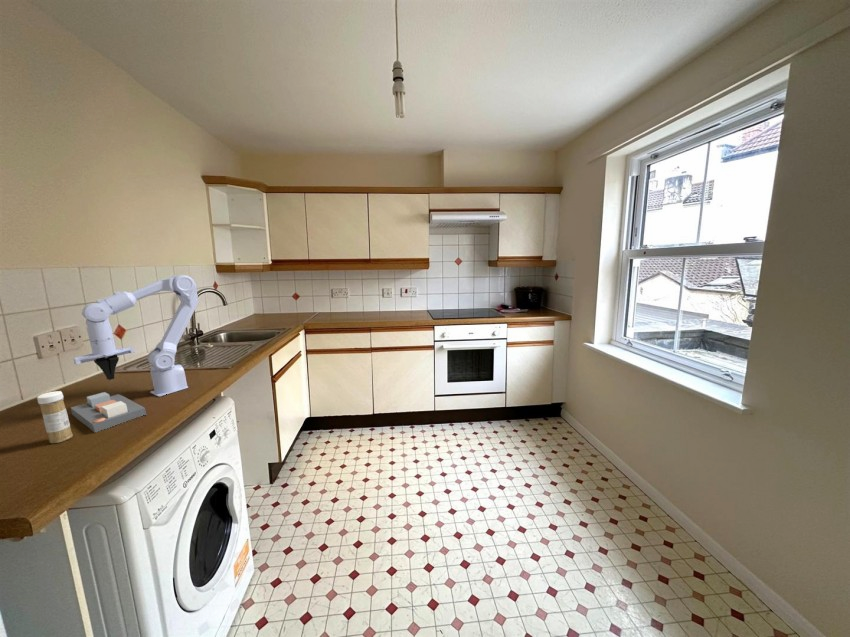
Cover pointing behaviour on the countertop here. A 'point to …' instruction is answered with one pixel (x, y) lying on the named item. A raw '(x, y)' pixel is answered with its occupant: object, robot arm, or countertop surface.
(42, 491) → the countertop surface
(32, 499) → the countertop surface
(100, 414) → the console
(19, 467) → the countertop surface
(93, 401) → the grey button
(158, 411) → the countertop surface
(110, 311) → the robot arm
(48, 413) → the spice jar
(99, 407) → the terracotta button
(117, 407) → the off-white button
